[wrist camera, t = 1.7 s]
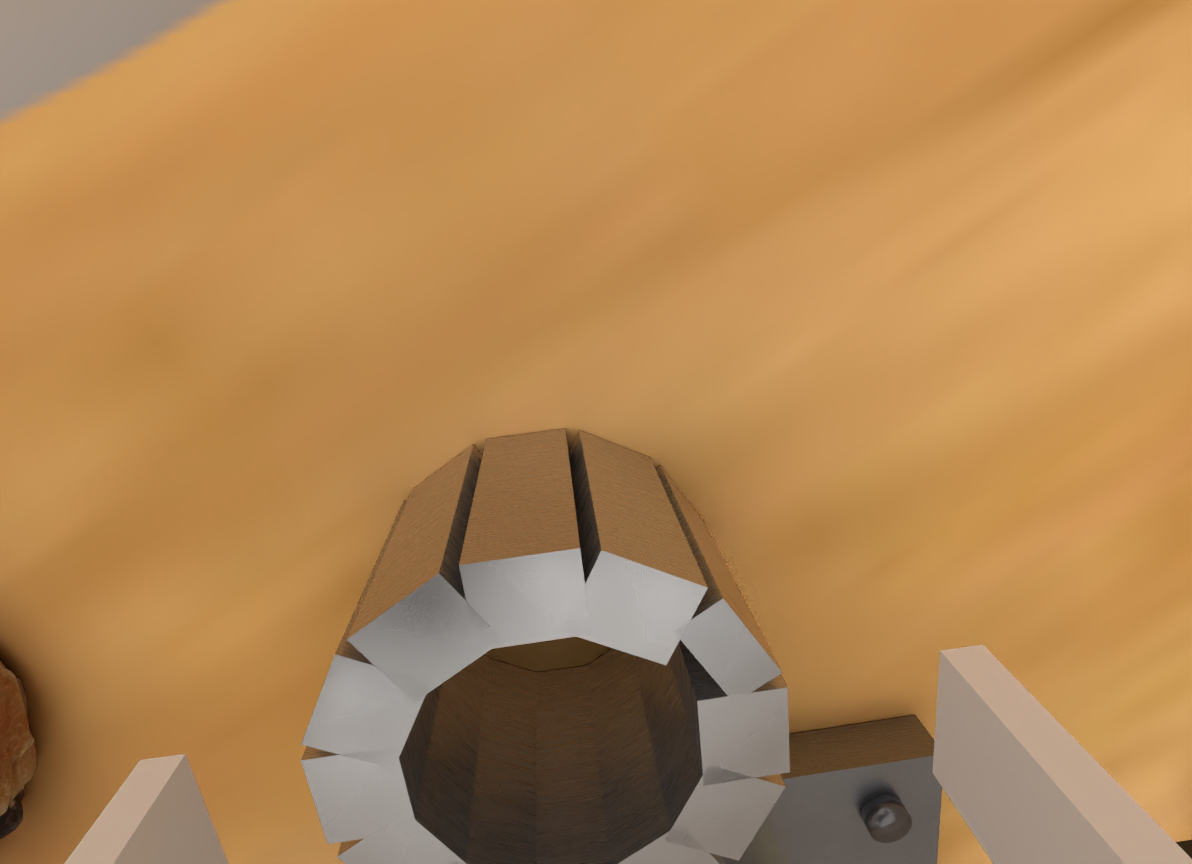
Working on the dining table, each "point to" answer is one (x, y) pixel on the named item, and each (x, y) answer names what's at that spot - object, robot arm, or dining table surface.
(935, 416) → the dining table surface
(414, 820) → the tube
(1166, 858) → the robot arm
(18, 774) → the bread roll
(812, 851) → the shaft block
